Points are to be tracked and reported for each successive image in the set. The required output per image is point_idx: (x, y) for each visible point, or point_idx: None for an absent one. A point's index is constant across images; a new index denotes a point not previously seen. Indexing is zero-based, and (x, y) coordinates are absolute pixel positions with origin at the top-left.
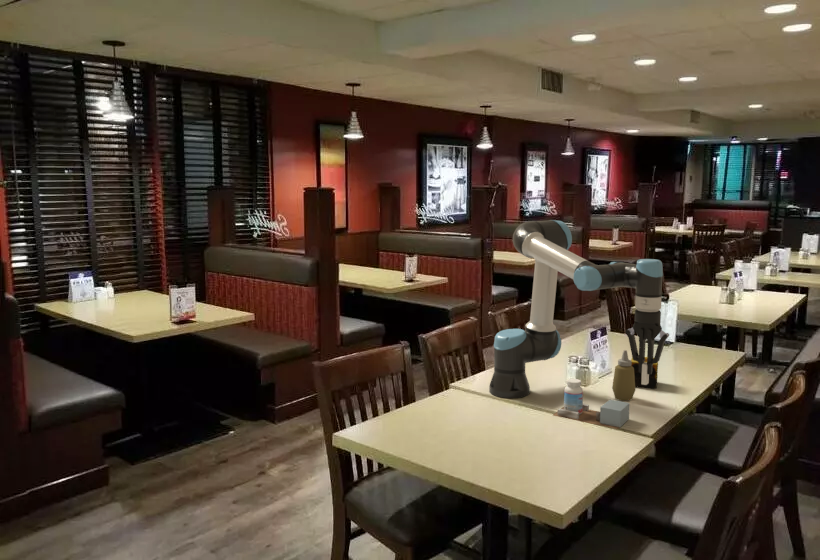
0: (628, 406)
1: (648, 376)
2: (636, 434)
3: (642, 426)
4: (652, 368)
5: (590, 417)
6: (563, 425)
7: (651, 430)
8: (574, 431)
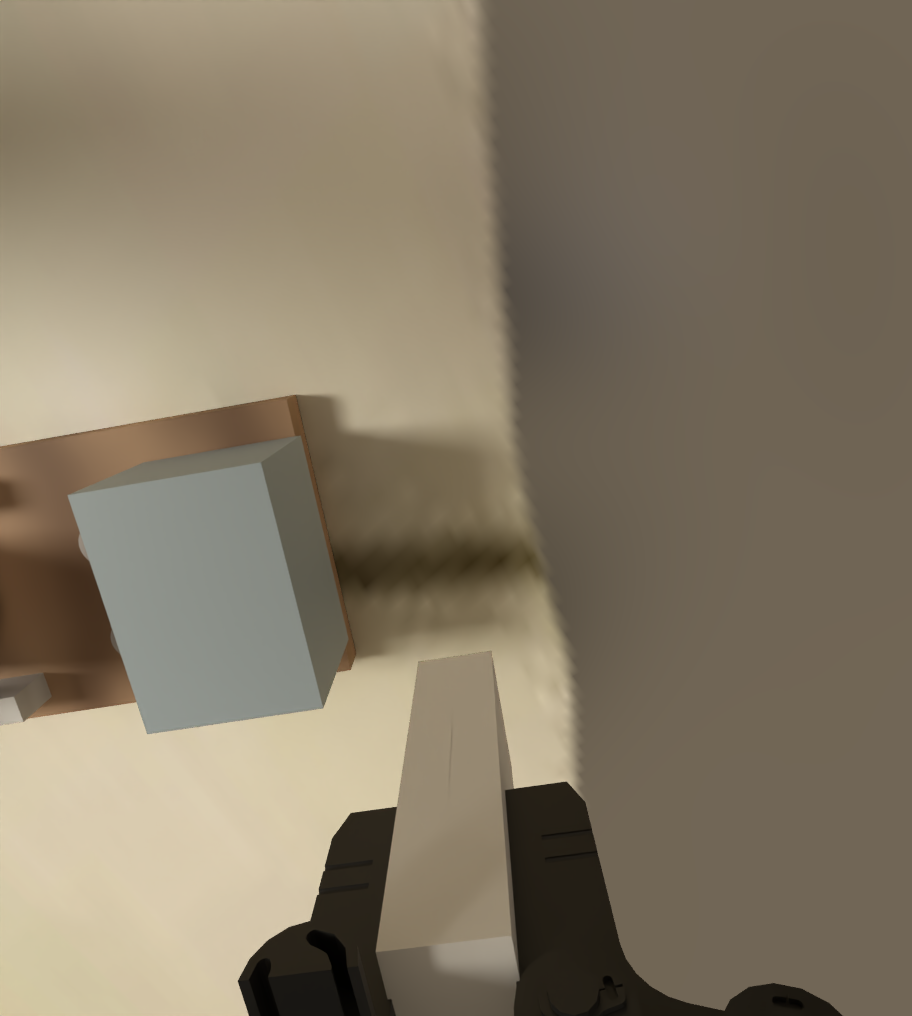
0: (276, 487)
1: (499, 735)
2: (455, 583)
3: (413, 412)
4: (598, 861)
5: (84, 603)
6: (32, 757)
7: (499, 442)
8: (146, 793)
